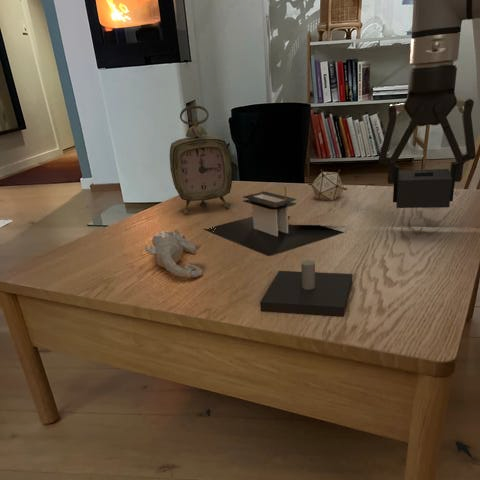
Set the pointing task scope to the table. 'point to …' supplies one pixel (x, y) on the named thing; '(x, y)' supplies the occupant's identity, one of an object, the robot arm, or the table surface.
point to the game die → (327, 185)
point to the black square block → (424, 188)
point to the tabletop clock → (200, 165)
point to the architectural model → (271, 226)
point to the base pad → (308, 292)
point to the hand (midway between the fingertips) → (421, 200)
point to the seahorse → (173, 253)
